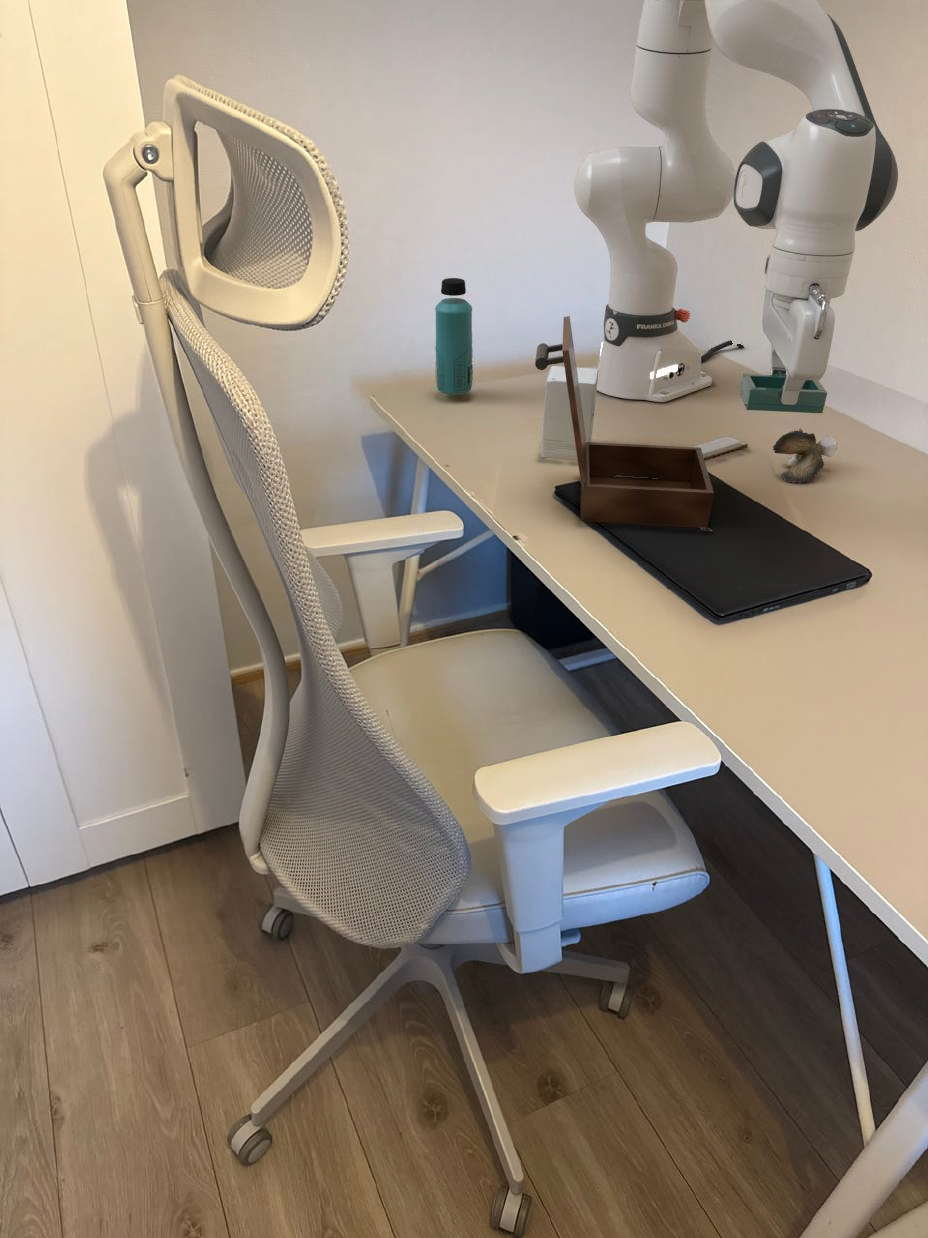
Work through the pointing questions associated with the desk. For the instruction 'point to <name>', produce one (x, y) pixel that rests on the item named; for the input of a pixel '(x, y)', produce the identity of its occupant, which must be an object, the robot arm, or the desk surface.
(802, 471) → the eagle figurine
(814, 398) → the dish
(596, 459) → the box
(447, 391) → the beverage bottle
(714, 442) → the harmonica
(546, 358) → the lid
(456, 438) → the desk surface
